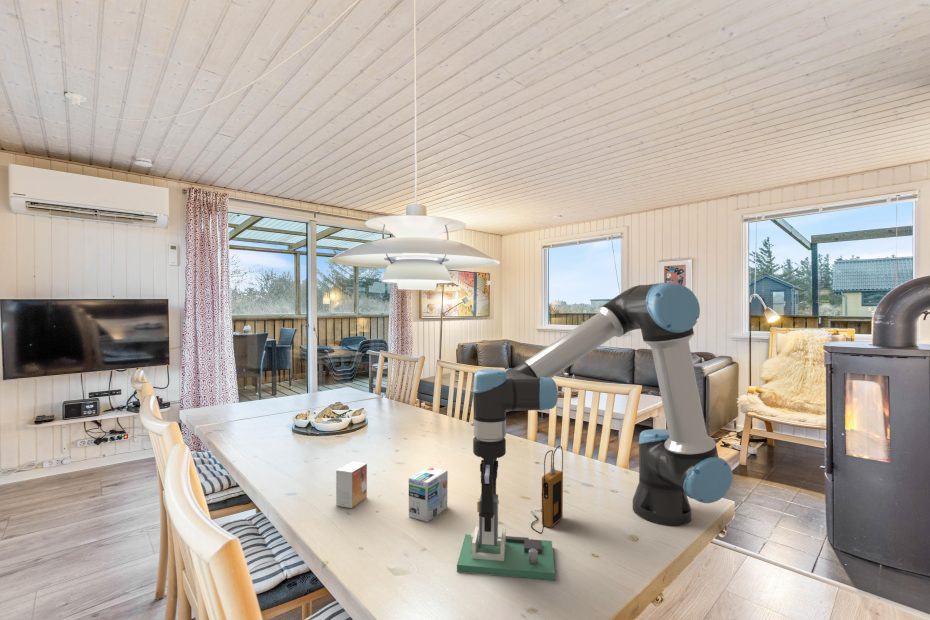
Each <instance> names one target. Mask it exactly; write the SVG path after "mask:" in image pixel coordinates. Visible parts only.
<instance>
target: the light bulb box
mask: <svg viewBox="0 0 930 620" xmlns="http://www.w3.org/2000/svg"><path fill="white" fill-rule="evenodd" d="M448 473H449V472H448V470H445V469H441V468H436V467H434V466H433V467H432V466H428V467H425V469H422V470H421V471H419V472H417V473H416V474H414V475H412V476H411V477H408V517H409V518H413V519H415V520H419V521H423V522H426V523H428V522H430V521H432V520H433V519H434V518H435V517H436V516H439V514H441V513H442V512H444V511H445V510H446V509H448V486H449V485H448V480H449V479H448V476H449V475H448Z"/></svg>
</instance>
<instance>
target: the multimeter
mask: <svg viewBox="0 0 930 620" xmlns="http://www.w3.org/2000/svg"><path fill="white" fill-rule="evenodd" d="M558 448H560V449H561V470H558V469H555V453H556V451H557V450H558ZM550 452H551V454H550V455H551V457H550V458H551V459H550V460H551V461H550V471H549V472H548V473H546V457H547V455H548V454H549V453H550ZM563 465H564V451H563V446H561V445H557V447H556V448H555V449H554V450H553V449H551V450H547V452H546V453H545V455H544V461H543V474H544V475H543V476H542V477H541V508H540V509H536V510H534V511H535V512H536V511H537V512H538V511H540V512H541V525H542V530H541V532H540V531H538V530H536V529H535V528H534V527H533V524H534V523H535V522H537V521H538V520H539V518H538V516H536V514H535V513H534V511H533V510H532V509H529V510H530V511H529V512H530V513H531V514H532V516H534V518H535V519H536V520H534V521H532V522H531V523H530V528H531V529H532V530H533V531H535V532H536V533H538V534H543V532H544V528H545V527H548V528H550V529H551V528H553V527H554V526H555V525H556V524H557V523H558V522H560V521H561V520H562V519H563V517H564V515H563V514H564V513H563V511H564V506H563V503H564V500H563V499H564V490H563V489H564V472H563V469H564V466H563Z"/></svg>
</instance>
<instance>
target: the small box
mask: <svg viewBox="0 0 930 620" xmlns="http://www.w3.org/2000/svg"><path fill="white" fill-rule="evenodd" d="M367 467H368V464H367V463H364V462H358V461H350V462H349V463H347V464H346V465H344V466H342V467H340V468H337V469H336V470H335V471H336V473H335V475H336V476H335V477H336V478H335V479H336V480H335V487H336V488H335V492H336V493H335V494H336V495H335V502H336V504H335V505H336V506H337V507H342V508H348V509H353V508H354V507H356V506H357V505H359V504H360V503H362V502H363V501H364V500H365V499H367V497H368V494H367V493H368V492H367V490H368V478H367V477H368V476H367V475H368V471H367V469H368V468H367Z"/></svg>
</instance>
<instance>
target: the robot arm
mask: <svg viewBox="0 0 930 620" xmlns="http://www.w3.org/2000/svg"><path fill="white" fill-rule="evenodd" d="M700 313H701V307H700V303H699V300H698V298H697V296H696V295H695V293H694V292H693V291H692V290H691V289H690V288H688V287H687V286H685V285H684V284H680V283H676V282H667V281H665V282H659V283H657V282H656V283H651V284H640V285H635V286H632V287H630V288H628V289H626V290H624V291H622V292H621V293H619V294H618V295H617V296H615V297H614V298H612V299H611V300H608V301H607V302H606V303H605V304H603V305H601V306H600V307H599V308H598V310H597V313H596V314H594V315H593V316H592V317H590V318H589V319H587V320H585V321H584V322H583V323H581V324H579V325H577V327H575V328H573V329H572V330H570V331H569V332H567V333H566V334H564V335H563V336H561V337H560V338H558V339H557V340H555V341H554V342H552V343H550V344H549V345H548V346H546V347H545V348H543V349H541V350H540V351H539V352H537V353H536V354H534V355H533V356H531V357H530V358H528V359H526V360H525V361H524V362H521V363H520V364H519V365H518V364H517V366H515V367H510V368H506V369H504V370H503V369H500V368H499V369H497V368H495V369H494V368H484V369H483V368H482V369H479V370H477V371H475V373H474V375H473V387H472V392H473V405H472V406H473V411H472V412H473V421H470V426H471V427H473V430H472V431H473V436H474V438H473V439H472V452H473V454H474V455H475V457H478V458H481V461H480V463H479V472H480V484H481V486H480V487H481V491H480V492H481V493H480V496H481V513H479V512H478V517H479V516H481V517H482V544H487V545H494V513H493V509H494V494H497V478H498V468H499V460H498V459H500V458H502V457H505V456H506V452H507V451H506V446H507V445H506V444H507V441H506V440H507V439H506V438H505V437H506V435H507V411H509V412H514V411H515V412H516V411H520V412H521V411H539V412H541V411H546V410H552V409H554V408H555V407H556V405H557V403H558V399H559V398H558V386H557V383H556V381H555V380H554V379H553V378H554V377H555V376H556V375H558V374H560V373H561V372H563V371H564V370H565V369H568V368H569V367H570V366H572V365H574V364H575V363H576V362H578V361H579V360H581V359H582V358H584V357H585V356H586V355H589V353H591V352H593V351H594V350H596V349H598V348H599V347H600V346H602V345H603V344H605V343H606V342H609V340H611V339H613V337H617V338H621V337H623V336H624V335H625V334H627V333H629V332H631V331H635V330H636V331H637V330H640V331H641V336H642V341H643V342H644V343H645V344H646V345H648V346H649V347H650V348H651V353H652V358H653V364H654V367H655V373H656V377H657V382H658V383H657V384H658V388H659V393H660V397H661V402H662V407H663V412H664V418H665V423H666V427H667V429H662V428H659V429H658V428H657V429H656V428H655V429H653V428H652V429H644V430H642V431H641V432H640V433H639V437H638V438H639V439H638V451H639V452H638V465H639V466H638V468H639V469H638V470H639V471H638V480H639V482H638V484H637V487H636V489H635V492H634V494H633V497H632V511H633V513H635V514H636V515H637V516H638V517H641V518H642V519H644V520H646V521H649V522H652V523H655V524H659V525H666V526H682V524H683V525H686V524H689V523H690V522H691V521H690V520H692V507H691V505H690V502H689V499H688V498H690V499H693V500H695V501H697V502H699V503H701V504H713V503H716V502H718V501H720V500H721V499H722V498H724V497H725V496H726V495H727V492H728V491H729V490H730V488H731V487H732V484H733V479H734V478H733V477H734V476H733V470H732V468H731V465H730V464H729V463H728V462H726V460H725V459H723V458H721V457H719V453H718V447H717V443H716V440H715V439H713V437H711V436H709V435H708V432H707V427H706V422H705V417H704V414H703V413H704V412H703V407H702V402H701V397H700V392H699V387H698V383H697V379H696V373H695V366H694V363H693V358H692V357H693V356H692V352H691V347H690V340H691V338H693V336H694V335H695V332H694V327H695V326H696V324H697V323H698V319H699V318H700ZM499 504H500V501H499V499H498V505H499ZM689 521H690V522H689ZM685 523H686V524H685Z"/></svg>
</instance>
